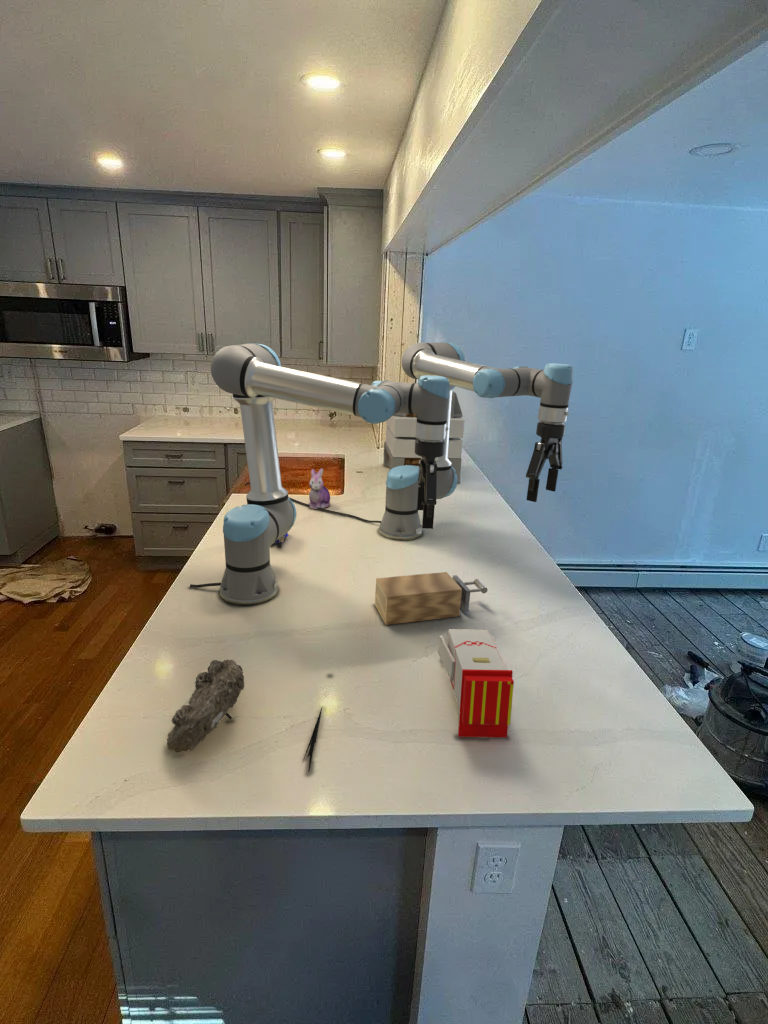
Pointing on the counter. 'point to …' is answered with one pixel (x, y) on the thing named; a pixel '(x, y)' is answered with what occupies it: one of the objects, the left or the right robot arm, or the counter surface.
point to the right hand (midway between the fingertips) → (541, 495)
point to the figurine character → (281, 539)
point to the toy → (478, 682)
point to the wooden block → (417, 597)
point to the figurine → (318, 491)
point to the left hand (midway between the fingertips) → (424, 518)
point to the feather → (313, 740)
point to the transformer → (403, 438)
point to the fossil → (206, 705)
